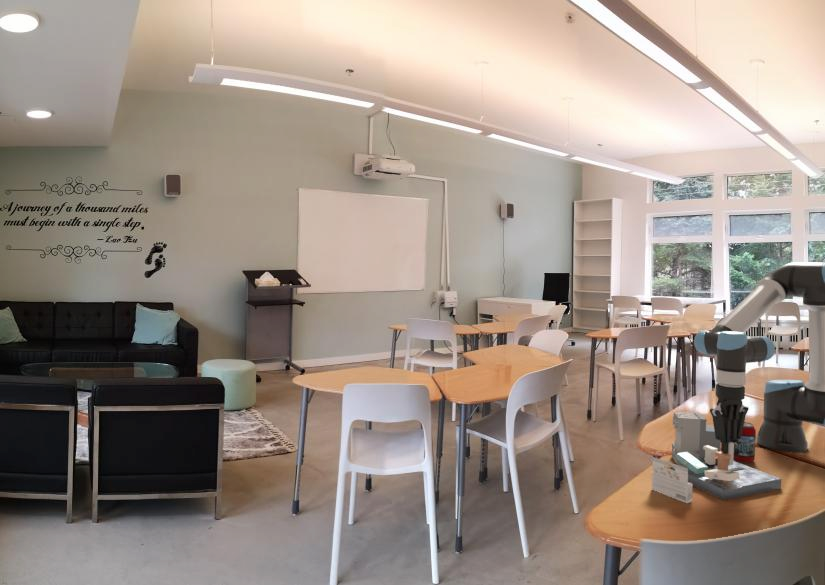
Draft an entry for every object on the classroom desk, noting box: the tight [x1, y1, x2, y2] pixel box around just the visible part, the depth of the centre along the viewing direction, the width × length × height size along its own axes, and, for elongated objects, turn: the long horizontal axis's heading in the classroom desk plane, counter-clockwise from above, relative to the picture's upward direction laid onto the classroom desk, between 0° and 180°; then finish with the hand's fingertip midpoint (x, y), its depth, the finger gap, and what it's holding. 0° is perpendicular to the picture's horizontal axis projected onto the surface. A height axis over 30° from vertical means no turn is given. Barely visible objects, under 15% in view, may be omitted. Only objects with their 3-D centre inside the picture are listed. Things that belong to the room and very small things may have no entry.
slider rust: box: [716, 450, 731, 471], centre depth 172 cm, size 2×4×5 cm, turn 21°
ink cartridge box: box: [651, 456, 693, 504], centre depth 162 cm, size 2×11×10 cm, turn 32°
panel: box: [669, 458, 782, 501], centre depth 172 cm, size 22×20×3 cm
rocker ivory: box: [704, 469, 740, 481], centre depth 164 cm, size 5×8×2 cm, turn 21°
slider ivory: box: [703, 445, 718, 465], centre depth 178 cm, size 2×4×5 cm, turn 21°
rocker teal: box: [676, 452, 708, 474], centre depth 174 cm, size 5×8×2 cm, turn 21°
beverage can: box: [733, 421, 757, 464], centre depth 191 cm, size 7×7×12 cm
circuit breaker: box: [671, 411, 721, 465], centre depth 189 cm, size 8×14×15 cm, turn 78°
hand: (727, 463), depth 173 cm, fingers closed
